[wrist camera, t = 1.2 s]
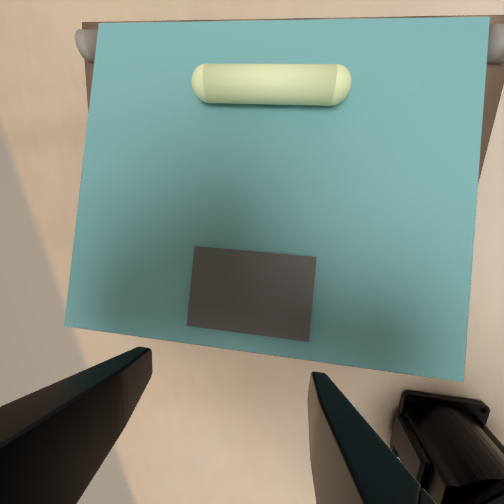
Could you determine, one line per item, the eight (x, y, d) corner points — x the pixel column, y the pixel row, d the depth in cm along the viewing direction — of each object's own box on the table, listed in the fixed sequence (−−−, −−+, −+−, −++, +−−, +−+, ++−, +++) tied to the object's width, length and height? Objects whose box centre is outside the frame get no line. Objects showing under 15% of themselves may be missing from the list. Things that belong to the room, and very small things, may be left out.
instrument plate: (465, 44, 13) (524, -23, 10) (441, 367, 12) (494, 402, 9) (116, 46, 15) (75, -8, 12) (85, 319, 15) (35, 335, 12)
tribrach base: (477, 49, 16) (543, -3, 12) (412, 332, 20) (443, 366, 16) (114, 50, 18) (66, 8, 14) (126, 298, 23) (92, 318, 19)
